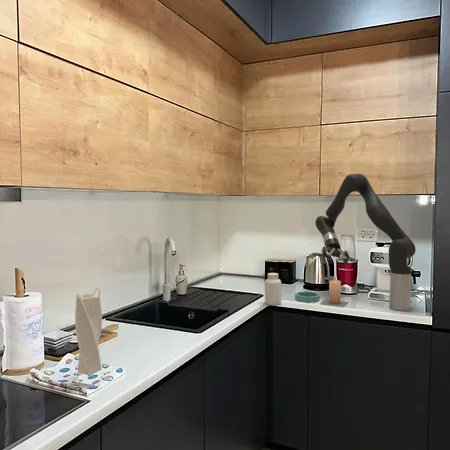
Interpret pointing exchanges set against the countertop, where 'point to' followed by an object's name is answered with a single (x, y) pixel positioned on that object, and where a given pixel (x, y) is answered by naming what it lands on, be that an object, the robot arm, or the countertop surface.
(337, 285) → the canister
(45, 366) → the countertop surface
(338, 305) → the mat
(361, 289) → the countertop surface
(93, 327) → the skyscraper
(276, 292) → the pill bottle
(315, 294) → the bowl
